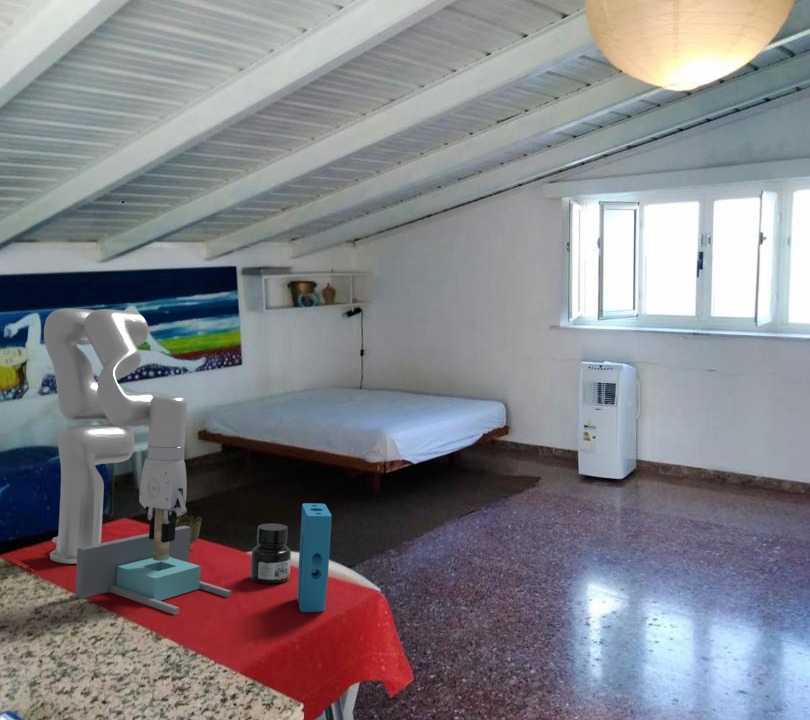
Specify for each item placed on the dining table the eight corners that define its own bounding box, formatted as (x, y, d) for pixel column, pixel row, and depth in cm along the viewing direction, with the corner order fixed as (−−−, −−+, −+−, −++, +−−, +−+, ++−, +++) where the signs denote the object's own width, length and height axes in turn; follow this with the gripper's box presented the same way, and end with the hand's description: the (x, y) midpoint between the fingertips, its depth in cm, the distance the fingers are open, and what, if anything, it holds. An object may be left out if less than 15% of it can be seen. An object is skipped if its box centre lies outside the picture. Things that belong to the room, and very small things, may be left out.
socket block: (116, 589, 160) (117, 566, 160) (162, 576, 171) (163, 555, 171) (153, 602, 154) (155, 578, 154) (199, 588, 164) (200, 566, 164)
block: (326, 614, 154) (332, 516, 153) (301, 615, 153) (307, 516, 152) (319, 595, 165) (324, 503, 165) (296, 595, 164) (301, 503, 164)
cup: (163, 550, 192) (165, 518, 192) (182, 544, 199) (183, 513, 199) (187, 554, 190) (189, 523, 189) (205, 548, 196) (207, 517, 196)
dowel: (149, 558, 162) (152, 502, 161) (161, 555, 164) (164, 500, 164) (159, 561, 160) (162, 504, 160) (171, 558, 163) (174, 502, 162)
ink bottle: (261, 587, 168) (264, 533, 168) (241, 577, 175) (244, 525, 174) (298, 580, 174) (301, 528, 174) (277, 570, 181) (280, 520, 181)
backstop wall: (74, 596, 155) (77, 548, 155) (182, 567, 179) (184, 525, 179) (147, 623, 143) (150, 571, 143) (252, 589, 167) (255, 543, 166)
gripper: (126, 451, 163) (122, 536, 163) (178, 460, 154) (173, 550, 154) (154, 448, 169) (150, 530, 170) (206, 456, 161) (202, 543, 161)
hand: (161, 539), depth 162 cm, fingers closed on dowel, 3 cm apart
